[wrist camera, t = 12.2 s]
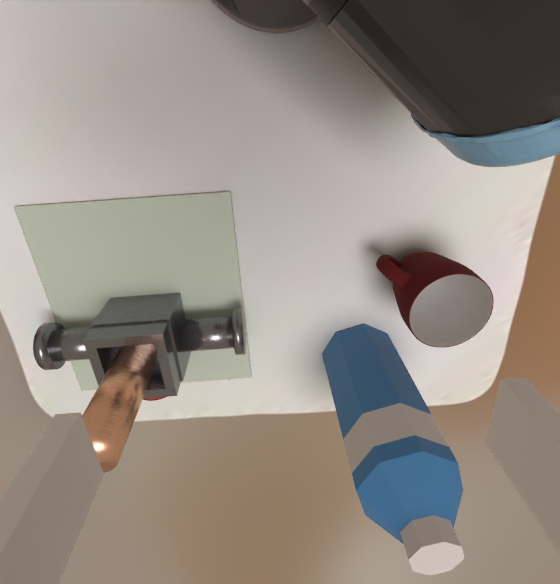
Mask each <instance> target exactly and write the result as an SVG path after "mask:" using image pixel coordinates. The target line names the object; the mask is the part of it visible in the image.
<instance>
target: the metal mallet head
mask: <svg viewBox="0 0 560 584" xmlns="http://www.w3.org/2000/svg"><path fill="white" fill-rule="evenodd" d="M90 326H91V327H83V328H69V329H65V328H64V327H63V326H62V325H61V324H60V323H57V322H54V323H44V324H42V325H41V326H40V327H39V328H38V330H37V332H36V334H35V337H34V342H33V351H34V356H35V359H36V362H37V364H38V365H39V366H40V367H41V368H42V369H44V370H51V369H59V368H61V367H62V366H63V365H64V363H65V361H74V360H87V359H89V360H90V363H91V366H92V369H93V372H94V375H95V377H96V380H97V383H98V386H99V385H100V383H101V381H102V379H103V378H104V376H105V374H106V372H107V370H108V369H109V367H110V365H111V363H112V361H113V360H114V358H115V356H116V354H117V352H118V350H119V349H120V347H121V346H133V345H146V344H153V345H154V346H155V348H156V353H157V357H158V360H157V363H156V365H155V368H154V370H153V373H152V376H151V378H150V381H149V383H148V386H147V389H146V391H145V394H144V397H143V399H144V400H149V401H152V400H159V399H162V398H165V397H167V396H177V393H178V389H179V386H180V382H181V381H183V380H184V376H185V373H186V369H187V365H188V361H189V357H190V354H191V351H203V350H216V349H229V348H234V351H235V354H236V355H245V354H246V332H245V320H244V313H243V309H242V308H240V309H233V311H232V316H228V317H215V318H202V319H189V320H186V319H185V314H184V309H183V304H182V298H181V293H167V294H154V295H140V296H127V297H113V298H110V299H109V300H108V302H107V303H106V304H105V306H104V307H103V308H102V310H101V311H100V313H99V314H98V315H97V317H96V318H95V319H94V321H93V322H92V323H91V325H90Z"/></svg>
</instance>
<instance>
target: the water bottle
mask: <svg viewBox="0 0 560 584" xmlns="http://www.w3.org/2000/svg"><path fill="white" fill-rule="evenodd" d="M322 355H323V359H324V363H325V367H326V371H327V375H328V379H329V383H330V387H331V391H332V395H333V399H334V403H335V407H336V411H337V415H338V419H339V423H340V427H341V431H342V435H343V439H344V443H345V448H346V452H347V456H348V460H349V464H350V468H351V472H352V475H353V480H354V484H355V488H356V491H357V493H358V496H359V499H360V502H361V504H362V507H363V510H364V512H365V514H366V516H367V517H369V518H370V519H371V520H373V521H374V522H375V523H377V524H378V525H379V526H381V527H382V528H383V529H385V530H386V531H387V532H388V533H390V534H391V535H392V536H394V537H395V538H396V539H398V540H399V541H400V542H402V543H403V544H404V546H405V549H406V552H407V556H408V558H409V562H410V564H411V568H412V571H414V572H419V573H422V574H426V575H434V574H438V573H442V572H446V571H451V570H452V569H453V568H454V567H455V566H457V565H458V564H459V563H460V562H461V561H462V560H463V559H464V555H463V550H462V546H461V544H460V542H459V539H458V537H457V535H456V533H455V531H454V524H455V520H456V516H457V512H458V508H459V504H460V500H461V496H462V492H463V488H462V482H461V477H460V471H459V466H458V462H457V461H456V459H455V457H454V455H453V453H452V451H451V450H450V448H449V446H448V444H447V442H446V440H445V439H444V437H443V435H442V433H441V431H440V430H439V428H438V426H437V424H436V422H435V420H434V418H433V417H432V415H431V413H430V411H429V409H428V407H427V405H426V404H425V402H424V400H423V398H422V396H421V394H420V393H419V391H418V389H417V387H416V385H415V383H414V382H413V380H412V378H411V376H410V374H409V372H408V371H407V369H406V367H405V365H404V363H403V361H402V360H401V358H400V356H399V354H398V352H397V350H396V349H395V347H394V345H393V343H392V341H391V339H390V338H389V336H388V334H387V333H384V332H382V331H380V330H377V329H375V328H373V327H370V326H368V325H365V324H361V325H358V326H355V327H351V328H348V329H345V330H342V331H338V332H336V333H335V335H334V336H333V338H332V339H331V341H330V342H329V344H328V345H327V347H326V349H325V350H324V352H323V353H322Z"/></svg>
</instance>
